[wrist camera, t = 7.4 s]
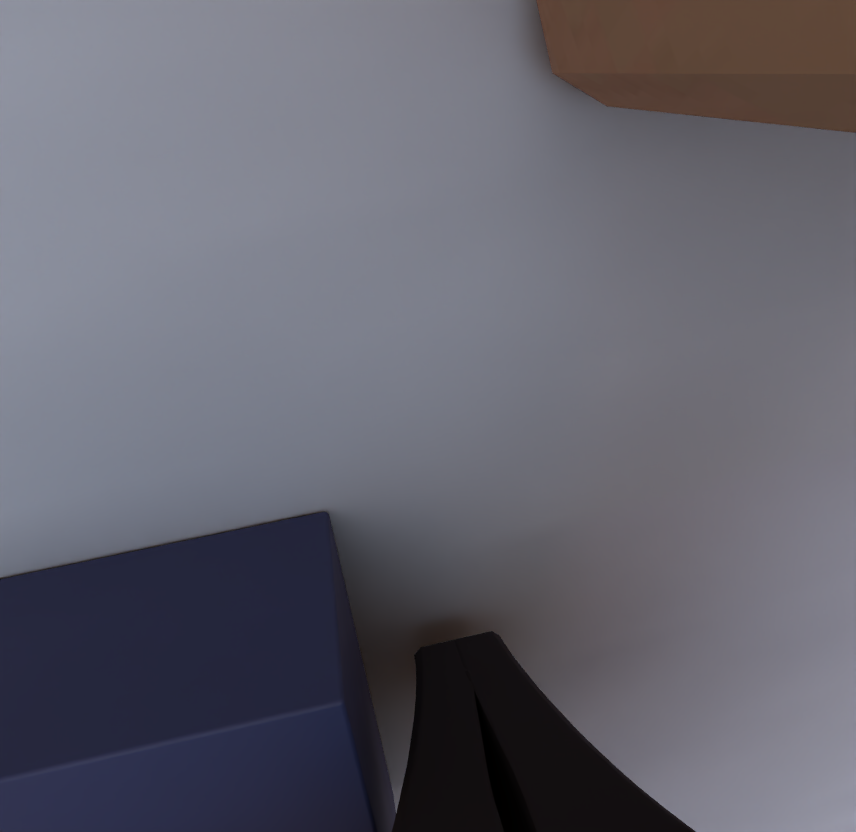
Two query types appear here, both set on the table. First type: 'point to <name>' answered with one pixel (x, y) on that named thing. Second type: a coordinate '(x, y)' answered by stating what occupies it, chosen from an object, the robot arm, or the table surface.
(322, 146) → the table surface
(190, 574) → the navy block
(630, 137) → the table surface
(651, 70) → the wooden block
